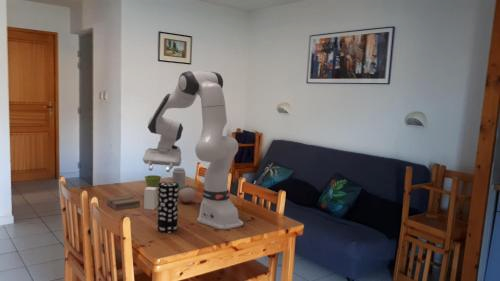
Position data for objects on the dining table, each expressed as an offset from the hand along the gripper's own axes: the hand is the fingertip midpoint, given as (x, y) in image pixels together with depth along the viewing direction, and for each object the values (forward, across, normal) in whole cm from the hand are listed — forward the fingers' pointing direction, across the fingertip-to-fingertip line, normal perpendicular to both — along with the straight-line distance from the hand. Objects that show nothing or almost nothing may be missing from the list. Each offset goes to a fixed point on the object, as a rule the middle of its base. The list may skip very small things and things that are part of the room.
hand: (159, 170), depth 213 cm
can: (-9, +3, +33) cm, 35 cm away
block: (+20, 0, +3) cm, 21 cm away
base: (+21, -14, +3) cm, 25 cm away
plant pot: (-1, -9, +25) cm, 26 cm away
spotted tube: (+40, +17, -17) cm, 47 cm away
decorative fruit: (+12, +16, +12) cm, 23 cm away
